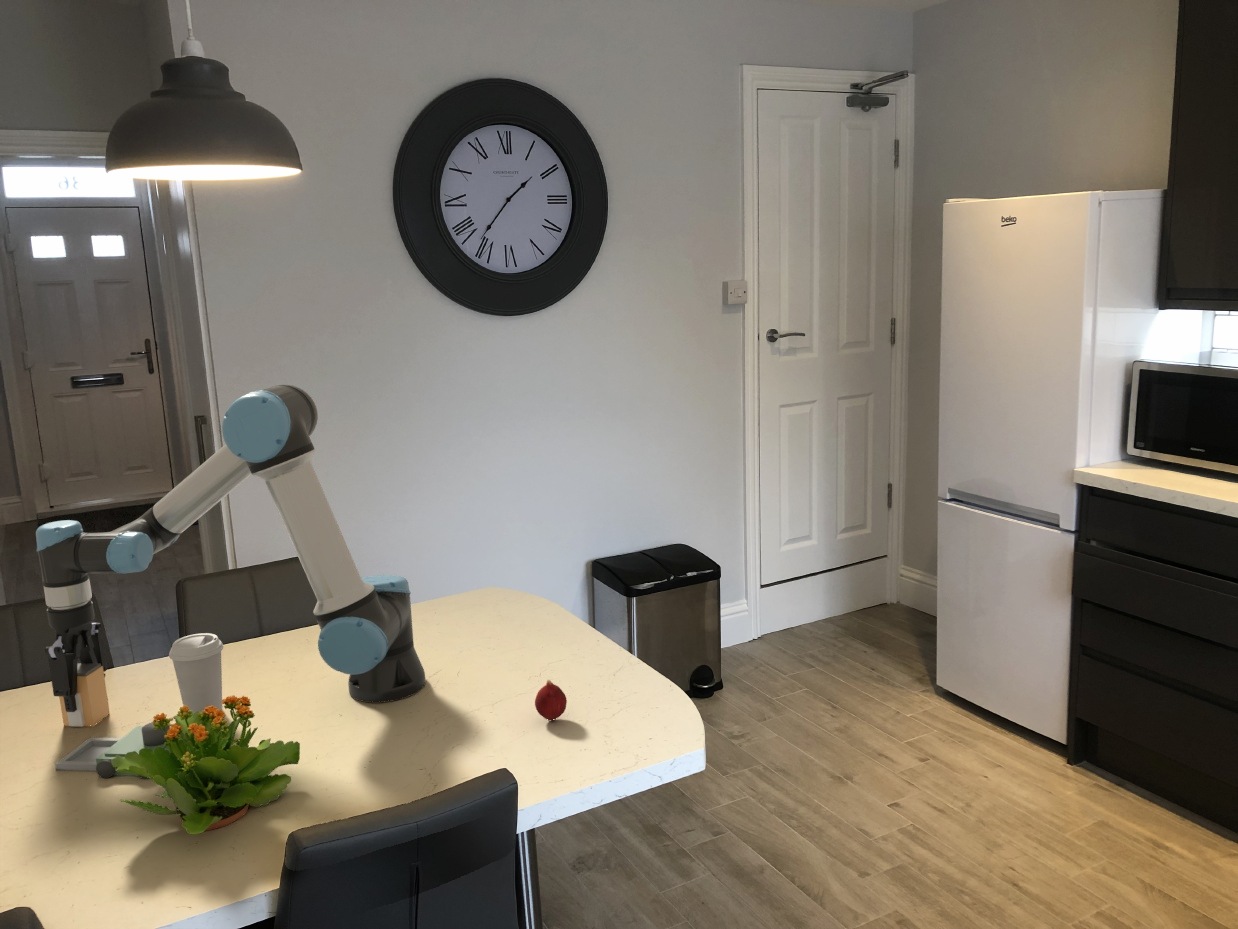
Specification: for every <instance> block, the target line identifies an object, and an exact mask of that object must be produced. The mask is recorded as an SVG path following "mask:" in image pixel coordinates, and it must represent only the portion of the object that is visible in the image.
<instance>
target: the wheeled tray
mask: <svg viewBox="0 0 1238 929" xmlns="http://www.w3.org/2000/svg"><path fill="white" fill-rule="evenodd" d="M153 727H154V725H153V721H151V722H149V723H146V724H145V725H136V726H134V728H132V730H130V731H129V732H127V733H126V734H125V735H124V736H122V737H89V738H88V739H86V740H85V741H83V743H81V744H80V745H79V746H77V747H75V748H74V749H73V750H72V751H71V752H69V753H68V754H66V755H65V756H64V757H63V758H61V759H59V760H58V761H57V762H55V770H56V771H68V772H69V771H70V772H71V771H72V772H74V771H77V772H83V771H84V772H96V773H97V775H98V776H99V777H101V778H103V779H108V778H110V777H113V776H129V777H131V776H133V777H134V776H137V777H139V778H140V779H142V780H143V779H144V780H147V779H149V778H147V777H144V776H141V775H137V774H133V773H126V772H117V771H116V770H117V767H116V768H113V766H112V763H111V760H112V759H113V758H115V756H116V755H118V756H121V757H123V758H124V757H125V754H127V753H128V752H133V751H136V752H137V753H138V754H139V750H140V749H143V748H147V749H149V748H151V749H152V751H153V752H154V750H155V748H156V747H162V748H165V750H168V751H170V750H169V748H168V747H167V746H164V745H165V744H164V743H165V742H167V739H166V738H164V736H165V734H164V732H163V730H161V729H158V730H154V728H153ZM170 727H171V726H167V727H166V728H165V729H164V730H165V732H166V734H167V731H168V730H169V729H170ZM161 728H162V726H161ZM178 740H181V739H178ZM177 759H178V758H177ZM115 769H116V770H115Z"/></svg>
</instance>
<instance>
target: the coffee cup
mask: <svg viewBox="0 0 1238 929" xmlns="http://www.w3.org/2000/svg"><path fill="white" fill-rule="evenodd" d="M171 645H172V647H171V648H170V650H169V652H168V653H169V654H168V658H170V660H172V664H173V668H174V672H175V676H176V679H177V680H176V681H177V684H178V689H179V693H180V698H181V701H182V707H184V705H187V706H188V707H189V708H190V709H189V711H190V710H192V713H193V714H194V712H196V711H200V712H202V711H203V710H205V709H204V708H206V707H208V706H214V707H215V708H216V707H218V709H219V710H222V711H223V704H222V700H223V680H222V679H223V678H222V675H223V674H222V672H223V671H222V651H223V649H224V644H223V642H222V641H221V639H219V637H218V635H216V634H214V633H211V632H210V633H209V632H205V633H201V632H200V633H195V634H190V635H187V636H186V635H185V636H183V637H180V638H178V639H176V640H175V641H174V642H172V644H171ZM189 711H188V712H189Z"/></svg>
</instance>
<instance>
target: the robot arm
mask: <svg viewBox="0 0 1238 929" xmlns="http://www.w3.org/2000/svg"><path fill="white" fill-rule="evenodd" d="M318 418H319V417H318V409H317V405H316V403H315V401H314V399H313V398H312V396H311V395H310V394H308V392H307V391H305V390H304V389H302V388H300V387H298V386H296V385H291V384H278V385H276V384H275V385H274V386H270V387H266V388H262V389H257V390H255V391H250V392H248V393H247V394H244V395H242V396H241V397H238V398H237V399H236V400H234V401H233V402H232V403H231V404H230V405H229V406H228V408H227V409H226V411H225V414H224V416H223V417H222V424H221V432H222V438H223V441H224V442H225V444H224V445H223V446H222V447H220V448H219V449H218V450H217V451H216V452H214V454H212V455H211V456H210V457H209V458H208V459H206V460H205V461H204V462H203V463H202V464H201V465H199V466H198V467H197V468H196V469H195V470H193V471H192V472H191V473H190V474H189V475H187V476H186V477H185V478H184V479H183V480H182V481H180V482H179V483H178V484H177V485H176V486H175V487H173V489H172V490H170V491H169V492H167V494H165V495H164V496H163V497H162V498H161V499H159V500H158V501H157V502H156V503H155V504H154V505H153V506H152V507H150V508H149V509H148V510H147V511H145V512H144V513H143V514H142V515H141V516H139V517H138V518H137V519H135V520H133V521H131V522H128V523H127V524H124V525H122V526H119V527H118V528H116V529H113V530H112V531H107V532H84V529H83V526H82V524H81V522H79V521H78V520H73V519H71V520H70V519H67V520H64V519H63V520H57V521H52V522H51V521H50V522H46V523H45V524H42V525H40V526H38V527H37V529H36V530H35V538H36V540H35V541H36V553H37V556H38V562H39V567H40V571H41V578H42V586H43V591H44V599H45V605H46V606H47V609H46V614H47V615H46V616H47V620H48V626H49V627H50V628H51V629H53V630H54V631H55V636H54V643H53V644H52V645H51V646H46V647H45V648H44V653H45V655H46V657H47V659H48V664H49V665H48V666H49V672H50V679H51V687H52V693H53V696H54V697H59V696H63V697H64V703H65V710H66V712H67V715H68V722H69V726H68V727H82V728H83V727H85V726H84V725H85V720H84V714H83V707H82V701H81V694H80V693H77V663H79V661H78V660H80V663H101V666H103V671H104V678H105V679H106V673H105V672H106V671H107V670H108V666H107V658H106V653H105V647H104V640H103V623H102V622H93V621H94V619H95V617H96V616H95V610H94V603H93V601H92V600H91V599H92V597H93V594H92V586H91V582H90V575H89V574H120V575H121V574H124V575H125V574H130V573H131V574H132V573H140V572H143V571H145V570H146V569H147V568H148V567H149V565H150V563H152V560H153V557H154V554H157V553H158V552H160V551H163V550H166V549H168V548H169V547H170V546H172V545H173V544H174V543H175V542H176V541H177V540H178V539H179V537H180V536H181V534H183V533H184V531H186V530H187V529H188V528H189V527H191V526H192V525H193V524H194V523H195V522H197V521H198V520H199V519H200V518H201V517H203V516H204V515H205V514H206V513H207V512H209V511H210V510H211V509H212V508H214V507H215V506H216V505H217V504H219V502H220V501H221V500H223V499H224V498H225V497H227V496H228V495H229V494H230V493H232V492H233V491H234V490H235V489H236V488H238V487H239V486H240V485H241V484H242V483H243V482H244V481H246V480H247V479H248V478H249V477H250V476H253V477H255V478H258V479H260V480H262V481H263V482H264V483H265V485H266V487H267V490H268V492H269V494H270V496H271V498H272V501H273V503H274V506H275V507H276V510H277V512H278V514H279V517H280V518H281V522H282V524H283V525H284V528H285V530H286V532H287V534H288V537H289V539H290V541H291V543H292V546H293V549H294V550H295V552H296V556H297V557H298V559H299V562H300V564H301V567H302V569H303V570H304V573H305V575H306V578H307V580H308V583H309V585H310V586H311V589H312V591H313V593H314V596H315V598H316V600H317V601H316V604H315V607H314V609H313V612H312V613H313V616H314V618H315V620H316V622H317V624H318V626H319V629H320V633H319V636H318V641H317V649H318V652H319V655H320V657H321V659H322V660H323V661H324V663H325V664H326V665H327V666H329V667H330V668H331V669H333V670H334V671H336V672H340V673H343V675H344V674H345V675H349V677H348V683H347V684H348V693H349V695H350V697H352V698H353V699H355V700H357V701H361V702H366V703H387V702H388V703H389V702H394V701H398V700H402V699H405V698H409V697H410V696H413V695H415V694H417V693H419V692H420V691H422V689H423V688H424V687H425V686H426V685H425V684H426V673H425V672H426V671H425V669H424V667H423V664H422V662H421V661H420V657H419V656H418V654H417V651H416V649H415V644H414V643H415V642H414V632H413V620H412V619H413V617H412V607H411V604H412V603H411V593H412V592H411V590H410V585H409V581H408V579H407V578H405V577H403V576H401V575H395V574H394V575H393V574H385V575H384V574H383V575H381V574H380V575H371V576H364V577H361V575H360V572H359V571H358V568H357V566H356V564H355V562H354V559H353V556H352V554H351V552H350V548H349V547H348V545H347V542H346V541H345V538H344V535H343V534H342V533H343V532H342V531H341V529H340V527H339V524H338V521H337V520H336V518H335V515H334V513H333V510H332V508H331V505H330V503H329V501H328V499H327V496H326V495H325V494H326V493H325V492H324V490H323V487H322V485H321V483H320V480H319V478H318V475H317V473H316V471H315V469H314V467H313V466H314V465H313V464H312V459H313V457H314V454H315V451H316V449H315V446H314V444H313V442H312V439H311V435H312V434H313V433H314V431H315V429H316V428H317V425H318Z"/></svg>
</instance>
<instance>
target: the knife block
mask: <svg viewBox="0 0 1238 929" xmlns="http://www.w3.org/2000/svg"><path fill="white" fill-rule="evenodd" d="M104 674H105V672H104V671H103V666H101V663H81V662H80V663H79V662H78V663H77V693H80V694H81V701H82V707H83V714H84V720H85V725H84V726H83V727H95V726H96V725H97V724H99V723H100V722H102V721H103V720H104V719H105V718H104V717H106V716H107V715H108V714H110V715H111V713H110V707H109V706H110V705H109V700H108V692H107V686H106V677H105V678H104ZM58 698H59V704H60V710H61V716H62V723H63V726H64V725H65V726H64V727H70V726H69V722H68V715H67V712H66V710H65V703H64V697H63V696H58ZM108 716H109V715H108ZM108 716H107V717H108ZM107 717H106V718H107ZM103 718H104V719H103ZM102 719H103V720H102ZM99 721H100V722H99ZM98 722H99V723H98ZM96 723H97V724H96ZM95 724H96V725H95ZM90 725H91V726H90ZM94 725H95V726H94Z"/></svg>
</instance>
